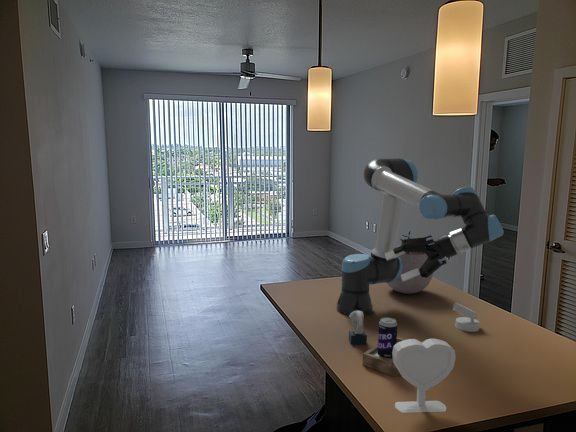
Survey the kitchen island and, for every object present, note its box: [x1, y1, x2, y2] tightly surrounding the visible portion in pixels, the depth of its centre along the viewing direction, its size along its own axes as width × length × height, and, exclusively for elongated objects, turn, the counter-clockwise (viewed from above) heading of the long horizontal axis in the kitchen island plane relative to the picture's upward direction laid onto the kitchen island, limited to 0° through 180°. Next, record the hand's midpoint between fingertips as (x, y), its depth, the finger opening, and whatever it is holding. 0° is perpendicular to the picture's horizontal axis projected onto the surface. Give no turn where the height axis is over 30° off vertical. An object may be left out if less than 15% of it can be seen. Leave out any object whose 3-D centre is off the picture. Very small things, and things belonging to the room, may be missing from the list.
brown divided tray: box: [362, 336, 406, 377], centre depth 142 cm, size 11×19×4 cm, turn 140°
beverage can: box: [377, 317, 398, 360], centre depth 137 cm, size 6×6×12 cm
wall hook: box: [452, 302, 481, 333], centre depth 170 cm, size 9×10×10 cm
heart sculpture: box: [392, 338, 457, 414], centre depth 114 cm, size 16×5×18 cm, turn 94°
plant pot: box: [386, 231, 434, 295], centre depth 212 cm, size 24×24×30 cm
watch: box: [348, 311, 368, 345], centre depth 155 cm, size 6×8×11 cm
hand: (394, 268), depth 153 cm, fingers open, 13 cm apart
